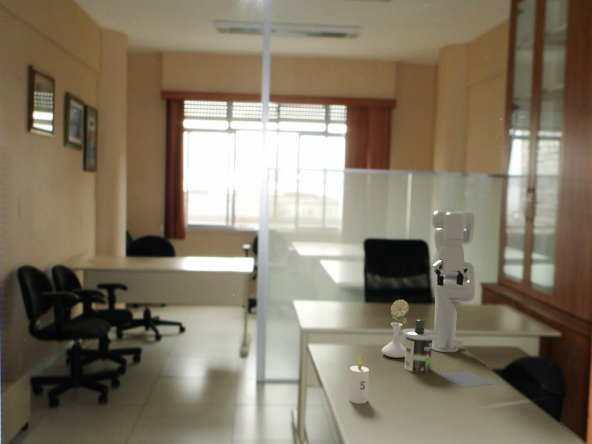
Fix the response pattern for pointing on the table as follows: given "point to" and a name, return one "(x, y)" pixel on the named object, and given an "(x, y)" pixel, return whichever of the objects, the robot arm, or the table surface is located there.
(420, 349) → the coffee can
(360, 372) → the candle
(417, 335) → the lid
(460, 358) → the table surface
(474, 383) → the mat
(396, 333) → the flower in vase
